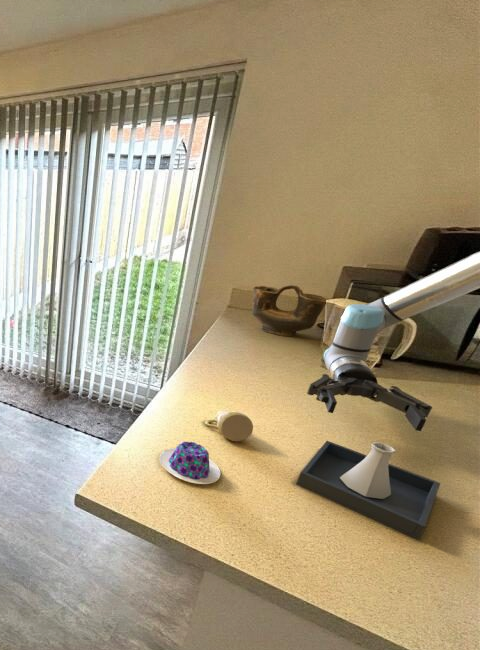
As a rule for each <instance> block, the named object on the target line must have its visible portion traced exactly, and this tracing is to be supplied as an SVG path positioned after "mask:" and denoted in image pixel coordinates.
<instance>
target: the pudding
mask: <svg viewBox="0 0 480 650" xmlns="http://www.w3.org/2000/svg"><path fill="white" fill-rule="evenodd" d="M209 455H210V454H209V451H208V450H207V449H206V448H205V447H204V446H203V445H202V444H198V443H196V442H194V441H182V442H181V443H179V444H178V445H176V447H172V448H168V449H166V450H164V451H162V452H161V453H160V455H159V463H160V464H161V466H162V467H163V468H164V469H165V471H167V472H168V473H169V474H171V476H174V477H176V478H177V479H180V480H182V481H185V482H187V483H191V484H197V485H209V484H214V483H215V482H217V481H218V480H219V479H220V478H221V470H220V468H219V466H218V465H217V464H216V463H215V462H214V461H213V460H212V459H211V458H210V456H209Z"/></svg>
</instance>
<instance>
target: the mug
mask: <svg viewBox="0 0 480 650" xmlns="http://www.w3.org/2000/svg"><path fill="white" fill-rule="evenodd" d="M214 418H215V419H208V420H206V421H205V422H204V425H205V426H207V428H213V429H214V430H215V429H216V430H217V431H219V433H220V435H222V436H223V437H224V438H225V439H227V440H229V441H232V442H240V441H241V442H242V441H244V440H246V439H248V438H249V437H250V436H251V435H252V434H253V431H254V424H253V422H252V420H251V419H250V417H249V416H248V415H246V414H244V413H242V412H239V411H233V410H231V411H228V410H219V411H218V412H217V413H216V414H215V417H214ZM211 423H212V424H211ZM213 423H215V424H213Z"/></svg>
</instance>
